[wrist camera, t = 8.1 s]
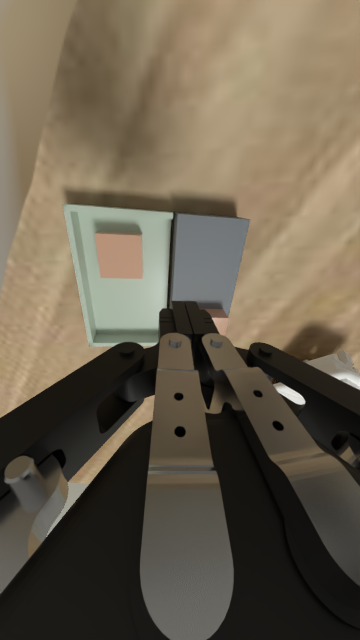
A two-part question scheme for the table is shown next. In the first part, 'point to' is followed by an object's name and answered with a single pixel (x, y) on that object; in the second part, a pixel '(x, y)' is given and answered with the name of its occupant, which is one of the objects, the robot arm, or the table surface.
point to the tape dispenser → (330, 366)
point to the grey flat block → (206, 258)
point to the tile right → (219, 319)
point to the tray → (119, 293)
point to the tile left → (120, 254)
